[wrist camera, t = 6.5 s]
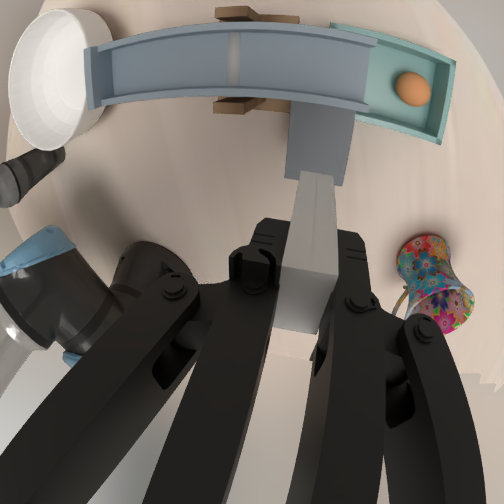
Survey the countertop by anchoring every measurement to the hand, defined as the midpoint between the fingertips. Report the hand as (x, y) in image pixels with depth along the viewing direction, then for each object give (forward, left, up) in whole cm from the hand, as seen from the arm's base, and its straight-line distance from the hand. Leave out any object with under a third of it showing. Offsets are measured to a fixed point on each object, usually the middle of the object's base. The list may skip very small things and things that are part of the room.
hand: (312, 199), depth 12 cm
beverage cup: (-42, -4, -18) cm, 46 cm away
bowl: (-32, +9, -18) cm, 38 cm away
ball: (+9, +7, -15) cm, 19 cm away
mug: (+17, -15, -18) cm, 29 cm away
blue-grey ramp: (-8, +3, -10) cm, 13 cm away
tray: (+6, +7, -18) cm, 20 cm away
